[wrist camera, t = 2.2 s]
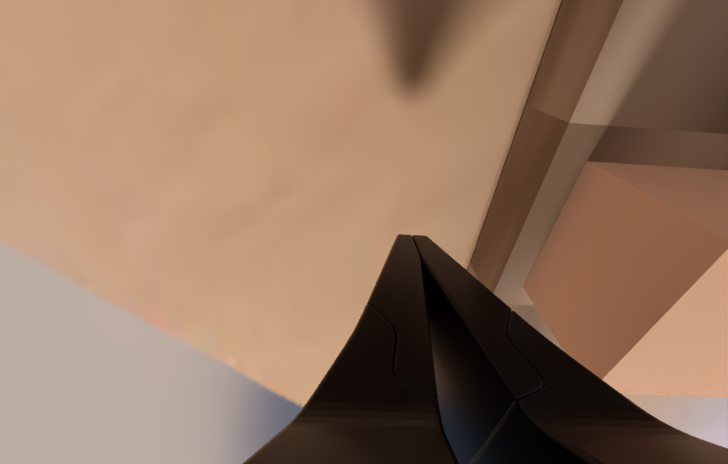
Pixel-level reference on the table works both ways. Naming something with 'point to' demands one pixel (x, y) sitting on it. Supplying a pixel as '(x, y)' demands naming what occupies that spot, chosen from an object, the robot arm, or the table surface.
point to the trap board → (605, 120)
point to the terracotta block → (641, 278)
